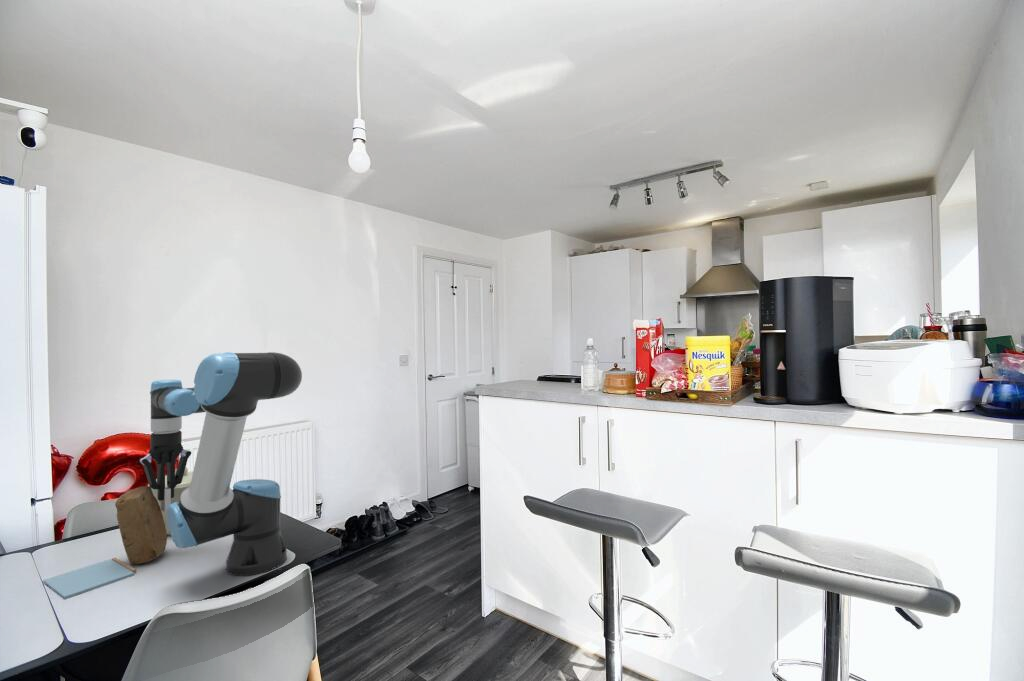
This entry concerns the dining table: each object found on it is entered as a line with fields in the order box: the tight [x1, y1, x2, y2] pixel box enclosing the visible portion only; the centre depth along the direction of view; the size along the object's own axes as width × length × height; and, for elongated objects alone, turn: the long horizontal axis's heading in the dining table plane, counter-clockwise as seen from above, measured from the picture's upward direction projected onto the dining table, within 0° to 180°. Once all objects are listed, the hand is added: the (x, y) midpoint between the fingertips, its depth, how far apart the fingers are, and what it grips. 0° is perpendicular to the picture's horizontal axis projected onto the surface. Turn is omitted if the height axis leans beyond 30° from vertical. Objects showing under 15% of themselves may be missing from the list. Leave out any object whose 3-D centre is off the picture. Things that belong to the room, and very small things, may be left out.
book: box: [42, 557, 137, 600], centre depth 124 cm, size 16×15×1 cm
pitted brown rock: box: [114, 485, 168, 565], centre depth 134 cm, size 11×8×20 cm
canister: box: [147, 466, 193, 536], centre depth 157 cm, size 18×18×21 cm
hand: (165, 510), depth 139 cm, fingers closed
